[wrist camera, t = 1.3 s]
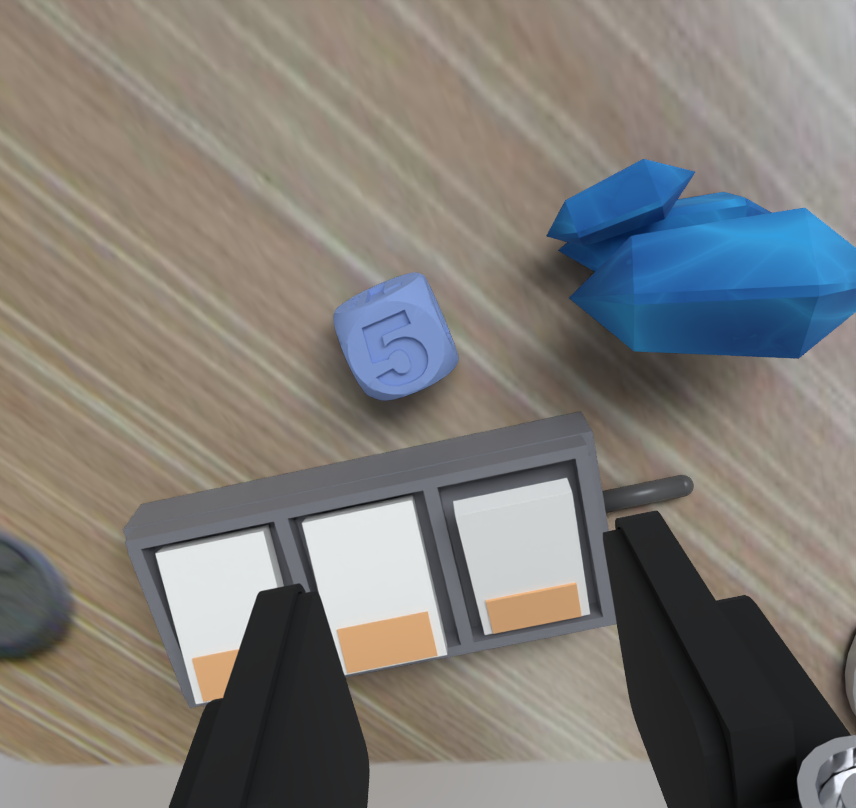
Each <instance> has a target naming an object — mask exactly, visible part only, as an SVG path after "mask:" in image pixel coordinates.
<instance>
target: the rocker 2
mask: <svg viewBox="0 0 856 808" xmlns="http://www.w3.org/2000/svg"><path fill="white" fill-rule="evenodd" d="M453 504H454V511H455V517H456V521H457V525H458V529H459V533H460V537H461V541H462V545H463V549H464V553H465V558H466V562H467V566H468V570H469V574H470V578H471V582H472V586H473V590H474V594H475V598H476V602H477V606H478V610H479V614H480V618H481V622H482V626H483V630H484V634H485V635H488V634H495V633H500V632H505V631H511V630H516V629H521V628H526V627H531V626H536V625H541V624H546V623H551V622H556V621H561V620H566V619H571V618H576V617H581V616H584V615H589V614H590V610H589V603H588V596H587V589H586V583H585V576H584V569H583V562H582V555H581V549H580V542H579V535H578V528H577V521H576V515H575V508H574V501H573V494H572V490H571V488H570V485H569V482H568V479H567V478H564V479H559V480H554V481H549V482H544V483H539V484H535V485H530V486H525V487H520V488H515V489H510V490H506V491H501V492H496V493H491V494H486V495H482V496H477V497H472V498H467V499H462V500H457V501H453Z"/></svg>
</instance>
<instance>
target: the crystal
mask: <svg viewBox="0 0 856 808" xmlns="http://www.w3.org/2000/svg"><path fill="white" fill-rule="evenodd" d="M694 173H695V172H694V171H690V170H686V169H682V168H678V167H674V166H670V165H666V164H662V163H658V162H654V161H650V160H646V159H642V160H641V161H639V162H637V163H635V164H633V165H631V166H629V167H627V168H625V169H624V170H622V171H620V172H618V173H616V174H614V175H612V176H610V177H608V178H607V179H605V180H603V181H601V182H599V183H597V184H595V185H593V186H591V187H590V188H588V189H586V190H584V191H582V192H580V193H578V194H576V195H575V196H573V197H571V198H569V199H567V200H565V202H564V204H563V206H562V208H561V209H560V211H559V213H558V215H557V217H556V219H555V221H554V223H553V225H552V226H551V228H550V230H549V232H548V234H547V237H551V238H554V239H558V240H562V241H565V242H567V243H566V244H565V245H564V246H563V247H562V248H560V249H559V250H558V251H560V252H561V253H563V254H565V255H567V256H568V257H570V258H572V259H574V260H575V261H577V262H579V263H580V264H582V265H584V266H586V267H587V268H589V269H591V270H593V271H594V273H593V274H592V275H591V276H590V277H589V278H588V279H587V280H586V281H585V282H584V283H583V284H582V285H581V286H580V287H579V288H578V289H577V290H576V291H575V292H574V293H573V294H572V295H571V296H570V297H569V299H571V300H572V301H573V302H574V303H576V304H577V305H578V306H579V307H580V308H582V309H583V310H584V311H585V312H587V313H588V314H589V315H590V316H592V317H593V318H594V319H595V320H596V321H598V322H599V323H600V324H601V325H603V326H604V327H605V328H606V329H607V330H609V331H610V332H611V333H612V334H614V335H615V336H616V337H617V338H618V339H620V340H621V341H622V342H623V343H625V344H626V345H627V346H628V347H629V348H631V349H632V350H633V351H639V352H662V353H684V354H707V355H730V356H752V357H775V358H798V359H799V358H800V357H801V356H802V355H804V354H805V353H806V352H807V351H808V350H810V349H811V348H812V347H813V346H815V345H816V344H817V343H818V342H820V341H821V340H822V339H823V338H824V337H826V336H827V335H828V334H829V333H831V332H832V331H833V330H834V329H835V328H837V327H838V326H839V325H840V324H842V323H843V322H844V321H845V320H846V319H848V318H849V317H850V316H851V315H853V314H854V313H855V312H856V248H855V247H854V246H853V245H851V244H850V243H849V242H848V241H846V240H845V239H844V238H842V237H841V236H840V235H839V234H837V233H836V232H835V231H834V230H832V229H831V228H830V227H829V226H827V225H826V224H825V223H824V222H822V221H821V220H820V219H819V218H817V217H816V216H815V215H813V214H812V213H811V212H810V211H808V210H807V209H806V208H799V209H793V210H787V211H781V212H775V213H771V212H769V211H768V210H766V209H764V208H762V207H761V206H759V205H757V204H755V203H753V202H752V201H750V200H748V199H746V198H745V197H741V196H737V195H733V194H730V193H726V192H720V193H714V194H708V195H702V196H696V197H690V198H683V199H678V198H679V196H680V195H681V193H682V192H683V190H684V189H685V187H686V186H687V184H688V183H689V181H690V180H691V178H692V176H693V175H694Z"/></svg>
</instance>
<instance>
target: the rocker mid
mask: <svg viewBox="0 0 856 808" xmlns="http://www.w3.org/2000/svg"><path fill="white" fill-rule="evenodd" d="M302 525H303V530H304V534H305V538H306V542H307V546H308V550H309V554H310V558H311V562H312V566H313V570H314V574H315V579H316V583H317V587H318V591H319V595H320V597H321V600H322V603H323V607H324V610H325V613H326V616H327V620H328V623H329V626H330V629H331V633H332V636H333V639H334V642H335V646H336V649H337V652H338V655H339V659H340V662H341V665H342V668H343V672H344V675H348V674H353V673H358V672H363V671H368V670H373V669H378V668H383V667H388V666H394V665H399V664H404V663H409V662H414V661H419V660H424V659H429V658H434V657H439V656H444V655H447V642H446V637H445V633H444V628H443V624H442V619H441V615H440V611H439V606H438V602H437V597H436V593H435V589H434V584H433V580H432V575H431V571H430V566H429V562H428V558H427V553H426V549H425V544H424V540H423V536H422V531H421V527H420V522H419V518H418V513H417V509H416V505H415V500H414V496H413V495H408V496H404V497H399V498H394V499H389V500H384V501H380V502H375V503H370V504H365V505H360V506H356V507H351V508H346V509H341V510H336V511H332V512H327V513H322V514H317V515H312V516H308V517H306V518H305V519H304V521H303V522H302Z"/></svg>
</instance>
